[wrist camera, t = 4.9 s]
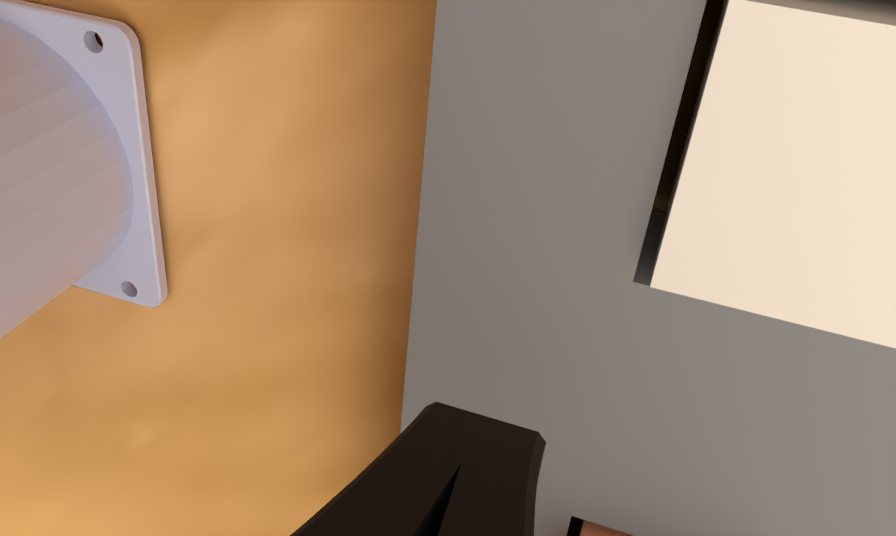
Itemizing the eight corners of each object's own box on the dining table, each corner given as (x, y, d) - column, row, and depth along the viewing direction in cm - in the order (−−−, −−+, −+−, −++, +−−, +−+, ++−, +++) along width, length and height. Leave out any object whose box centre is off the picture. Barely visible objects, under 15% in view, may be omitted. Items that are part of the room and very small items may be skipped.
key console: (414, 588, 27) (379, 671, 24) (518, -313, 14) (464, -332, 11) (870, 747, 24) (882, 860, 21) (1566, -211, 11) (1808, -206, 8)
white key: (665, 211, 17) (649, 286, 14) (735, -43, 14) (729, -3, 12) (927, 271, 16) (957, 364, 13) (1056, 10, 13) (1124, 65, 11)
